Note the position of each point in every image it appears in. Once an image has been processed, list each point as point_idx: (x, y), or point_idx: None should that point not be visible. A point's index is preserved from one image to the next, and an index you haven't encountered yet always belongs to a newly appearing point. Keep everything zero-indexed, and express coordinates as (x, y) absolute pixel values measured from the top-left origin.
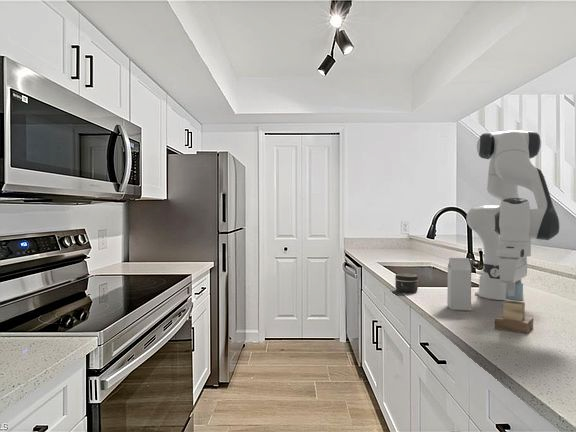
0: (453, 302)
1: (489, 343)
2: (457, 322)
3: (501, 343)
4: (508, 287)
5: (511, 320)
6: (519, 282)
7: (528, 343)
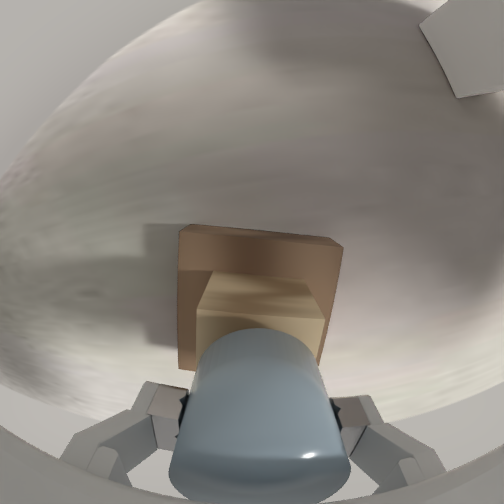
0: (439, 21)
1: (10, 246)
2: (201, 61)
3: (27, 276)
4: (104, 426)
5: (190, 310)
6: (383, 479)
7: (75, 344)
